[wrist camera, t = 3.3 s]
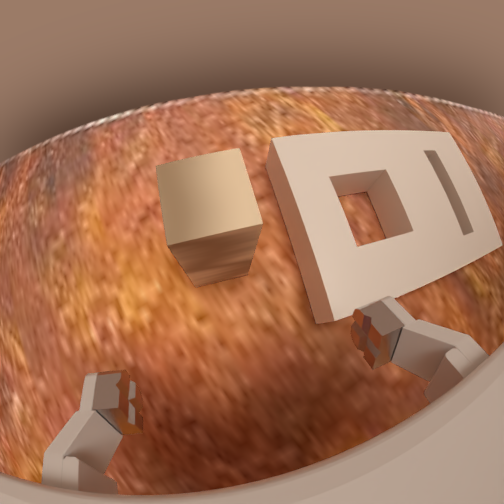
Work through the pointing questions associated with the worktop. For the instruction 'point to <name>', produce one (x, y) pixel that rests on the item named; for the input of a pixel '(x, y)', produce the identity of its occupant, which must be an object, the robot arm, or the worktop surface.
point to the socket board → (377, 213)
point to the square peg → (210, 215)
